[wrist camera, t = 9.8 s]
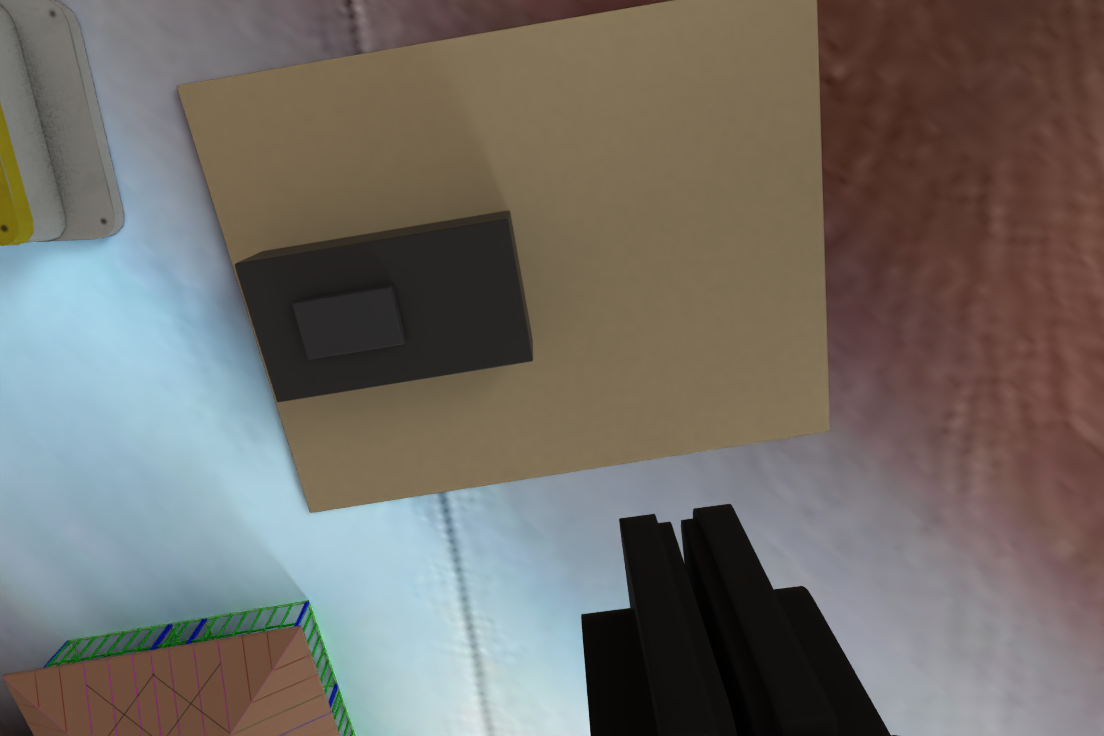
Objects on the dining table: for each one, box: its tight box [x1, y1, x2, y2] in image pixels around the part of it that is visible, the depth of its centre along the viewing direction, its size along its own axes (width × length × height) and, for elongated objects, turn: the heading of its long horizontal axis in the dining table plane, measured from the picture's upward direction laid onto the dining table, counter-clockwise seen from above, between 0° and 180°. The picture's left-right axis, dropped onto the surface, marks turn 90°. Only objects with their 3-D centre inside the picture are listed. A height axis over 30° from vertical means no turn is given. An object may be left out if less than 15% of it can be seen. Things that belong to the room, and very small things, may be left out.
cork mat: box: [177, 0, 830, 513], centre depth 31 cm, size 20×26×1 cm
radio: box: [235, 210, 533, 402], centre depth 30 cm, size 6×4×11 cm
